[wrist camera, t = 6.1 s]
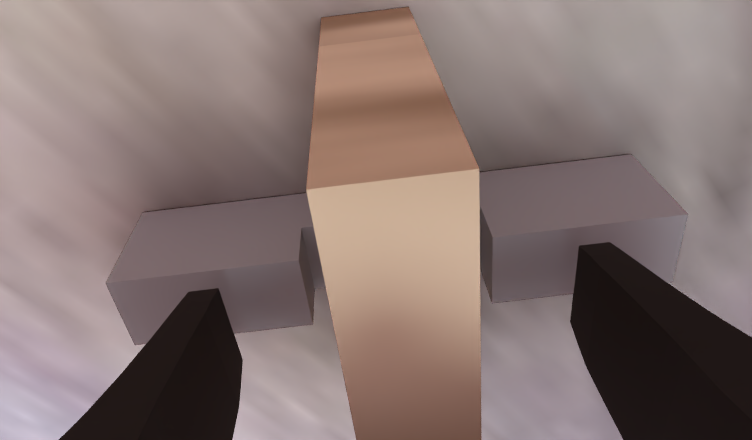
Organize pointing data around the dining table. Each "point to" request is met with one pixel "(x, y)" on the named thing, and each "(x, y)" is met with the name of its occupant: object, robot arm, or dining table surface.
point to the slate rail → (303, 266)
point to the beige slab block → (396, 230)
